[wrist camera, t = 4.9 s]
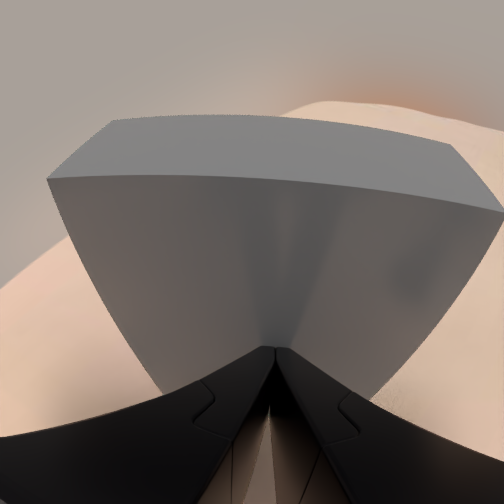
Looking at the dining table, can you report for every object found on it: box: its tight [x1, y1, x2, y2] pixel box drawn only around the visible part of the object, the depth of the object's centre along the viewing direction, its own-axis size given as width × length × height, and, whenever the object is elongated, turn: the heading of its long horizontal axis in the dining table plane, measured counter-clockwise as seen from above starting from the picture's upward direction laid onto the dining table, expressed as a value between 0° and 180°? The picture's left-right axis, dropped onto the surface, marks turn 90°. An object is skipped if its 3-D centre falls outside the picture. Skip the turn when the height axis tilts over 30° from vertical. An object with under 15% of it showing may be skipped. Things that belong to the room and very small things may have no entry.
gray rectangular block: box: [47, 115, 504, 409], centre depth 10 cm, size 3×9×12 cm, turn 84°
